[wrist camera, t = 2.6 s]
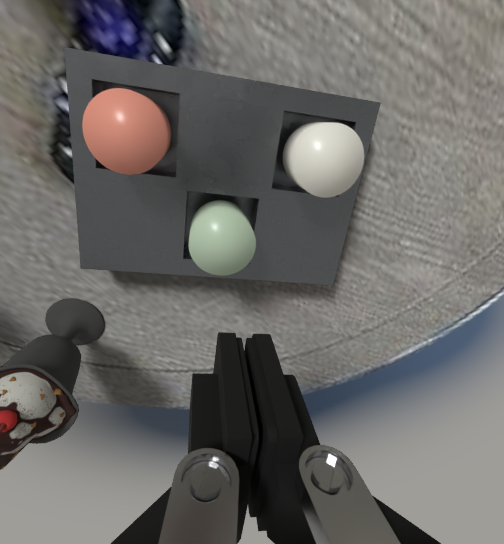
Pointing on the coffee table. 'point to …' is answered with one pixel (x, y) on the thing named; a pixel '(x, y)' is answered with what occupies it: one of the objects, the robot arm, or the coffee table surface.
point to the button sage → (221, 238)
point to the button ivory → (323, 158)
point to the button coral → (126, 131)
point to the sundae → (45, 379)
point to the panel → (209, 172)
